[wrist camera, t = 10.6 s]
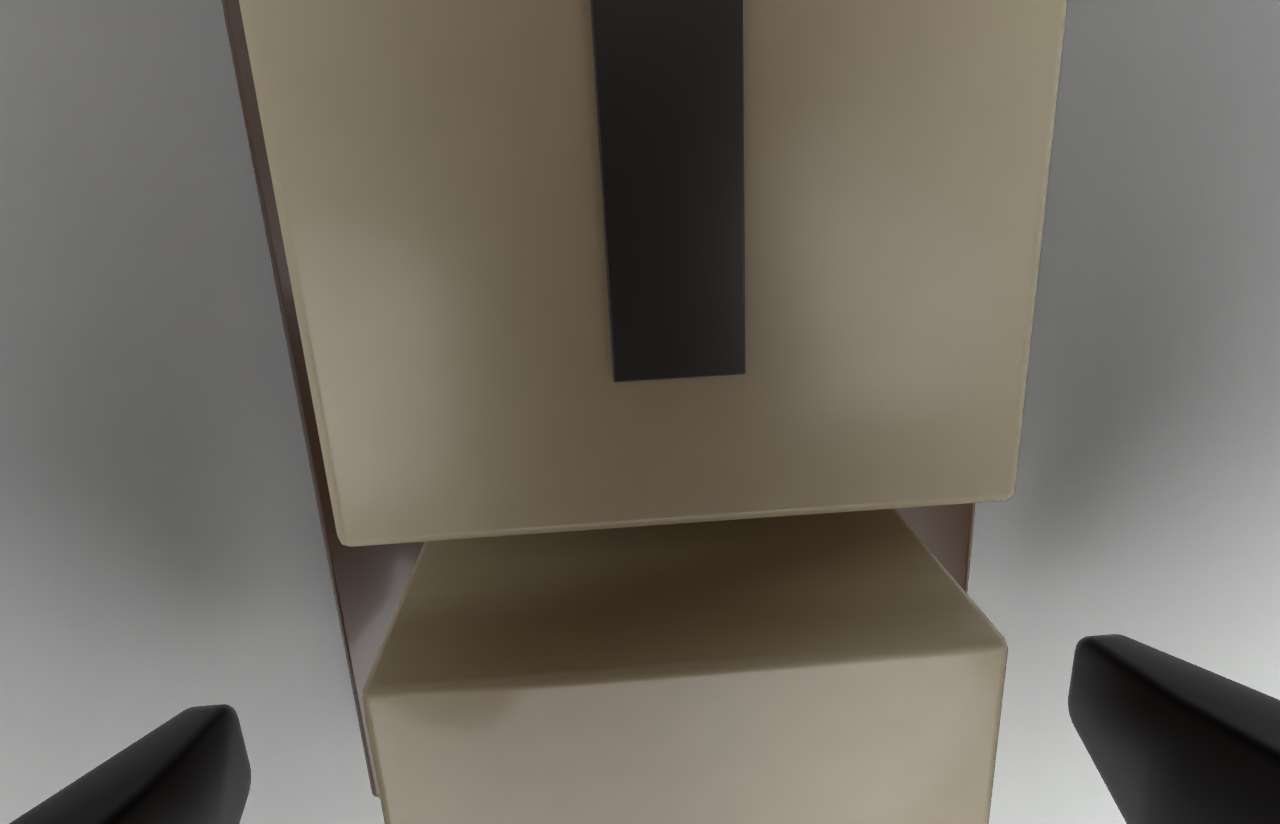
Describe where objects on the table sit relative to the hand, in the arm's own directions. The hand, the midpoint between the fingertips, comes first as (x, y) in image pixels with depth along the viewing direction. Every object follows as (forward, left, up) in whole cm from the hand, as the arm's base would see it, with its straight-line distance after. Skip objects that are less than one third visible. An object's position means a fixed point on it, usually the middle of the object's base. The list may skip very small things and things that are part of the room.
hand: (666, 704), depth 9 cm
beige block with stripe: (0, 0, 0) cm, 0 cm away
